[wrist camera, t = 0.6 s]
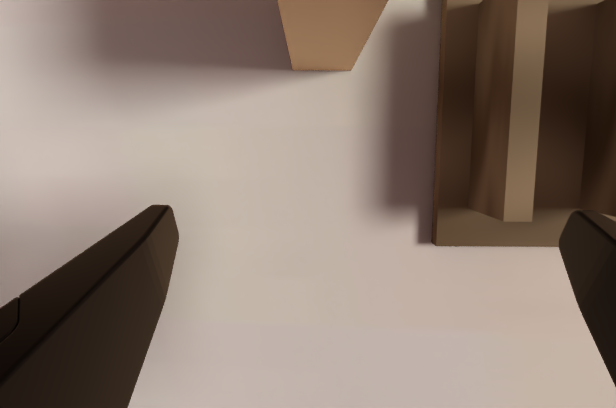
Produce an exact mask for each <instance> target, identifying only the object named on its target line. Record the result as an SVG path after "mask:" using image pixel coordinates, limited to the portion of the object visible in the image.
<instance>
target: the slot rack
mask: <svg viewBox="0 0 616 408" xmlns="http://www.w3.org/2000/svg"><path fill="white" fill-rule="evenodd" d="M575 210H594V211H597V212H599V213H601V214H602V215H604V216H606V217H608V218H610V219H612V220H614V221H616V0H442V19H441V43H440V66H439V89H438V112H437V135H436V158H435V181H434V204H433V227H432V243H433V244H434V245H436V246H540V247H559V238H560V235H561V233H562V231H563V229H564V227H565V224H566V222H567V220H568V218H569V216H570V214H571V213H572V212H573V211H575Z"/></svg>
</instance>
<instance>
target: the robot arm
mask: <svg viewBox="0 0 616 408" xmlns="http://www.w3.org/2000/svg"><path fill="white" fill-rule="evenodd" d="M178 242H179V233H178V229H177V225H176V221H175V217H174V213H173V210H172V208H171V207H170V206H169V205H151V206H150V207H148V208H147V209H145V210H144V211H142V212H141V213H139V214H138V215H136V216H135V217H133V218H132V219H131V220H129V221H128V222H126V223H125V224H123V225H122V226H120V227H119V228H117V229H116V230H114V231H113V232H111V233H110V234H109V235H107V236H106V237H104V238H103V239H101V240H100V241H98V242H97V243H95V244H94V245H92V246H91V247H89V248H88V249H87V250H85V251H84V252H82V253H81V254H79V255H78V256H76V257H75V258H73V259H72V260H70V261H69V262H67V263H66V264H65V265H63V266H62V267H60V268H59V269H57V270H56V271H54V272H53V273H51V274H50V275H48V276H47V277H45V278H44V279H42V280H41V281H40V282H38V283H37V284H35V285H34V286H32V287H31V288H29V289H28V290H26V291H25V292H23V293H22V294H21V295H20V296H19V298H18V297H16V298H14V299H13V300H12V301H10V302H9V303H7V304H6V305H4V306H3V307H1V308H0V408H128V405H129V402H130V399H131V396H132V393H133V391H134V388H135V385H136V382H137V379H138V376H139V374H140V371H141V368H142V365H143V362H144V359H145V357H146V354H147V351H148V348H149V345H150V343H151V340H152V337H153V334H154V331H155V328H156V326H157V323H158V320H159V317H160V314H161V311H162V309H163V305H164V302H165V299H166V295H167V291H168V287H169V283H170V278H171V274H172V269H173V264H174V260H175V255H176V251H177V246H178ZM559 250H560V253H561V256H562V259H563V262H564V265H565V268H566V271H567V274H568V277H569V280H570V283H571V286H572V289H573V292H574V295H575V298H576V301H577V303H578V306H579V308H580V311H581V313H582V315H583V318H584V320H585V322H586V324H587V326H588V328H589V331H590V333H591V335H592V337H593V339H594V341H595V343H596V346H597V348H598V350H599V352H600V354H601V356H602V359H603V361H604V363H605V365H606V367H607V369H608V371H609V374H610V376H611V378H612V380H613V382H614V384H615V387H616V221H614V220H612V219H610V218H608V217H606V216H604V215H602V214H601V213H599V212H597V211H594V210H575V211H573V212H572V213H571V214H570V216H569V218H568V220H567V222H566V224H565V227H564V229H563V231H562V233H561V235H560V238H559Z"/></svg>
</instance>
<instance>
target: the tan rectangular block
mask: <svg viewBox="0 0 616 408" xmlns="http://www.w3.org/2000/svg"><path fill="white" fill-rule="evenodd" d="M277 2H278V6H279V10H280V15H281V19H282V24H283V28H284V33H285V37H286V42H287V46H288V51H289V55H290V59H291V64H292V68H293V70H352V68H353V66H354V64H355V63H356V61H357V59H358V57H359V55H360V53H361V51H362V49H363V47H364V45H365V44H366V42H367V40H368V38H369V36H370V34H371V32H372V30H373V28H374V27H375V25H376V23H377V21H378V19H379V17H380V15H381V13H382V11H383V9H384V8H385V6H386V4H387V2H388V0H277Z"/></svg>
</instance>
